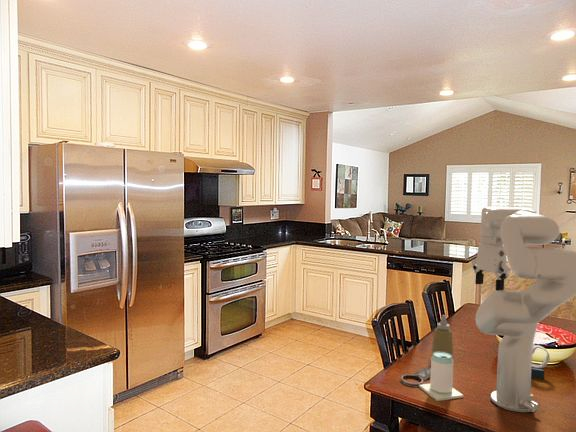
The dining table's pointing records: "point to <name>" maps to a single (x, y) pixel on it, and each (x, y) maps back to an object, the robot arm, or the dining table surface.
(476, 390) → the dining table surface
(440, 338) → the squeeze bottle
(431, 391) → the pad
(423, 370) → the keychain
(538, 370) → the watch
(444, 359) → the can
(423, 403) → the dining table surface
